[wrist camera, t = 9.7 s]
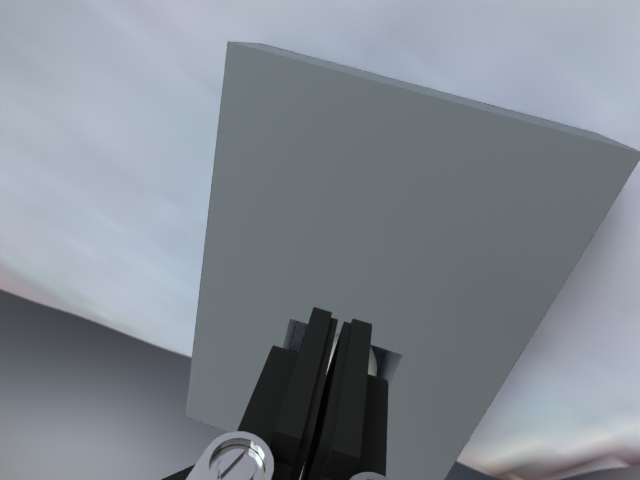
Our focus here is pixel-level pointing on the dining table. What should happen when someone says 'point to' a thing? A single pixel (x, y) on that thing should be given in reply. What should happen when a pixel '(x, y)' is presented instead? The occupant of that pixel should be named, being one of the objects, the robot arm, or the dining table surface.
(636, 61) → the dining table surface
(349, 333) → the robot arm
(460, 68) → the dining table surface
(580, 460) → the dining table surface
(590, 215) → the grey flat block
